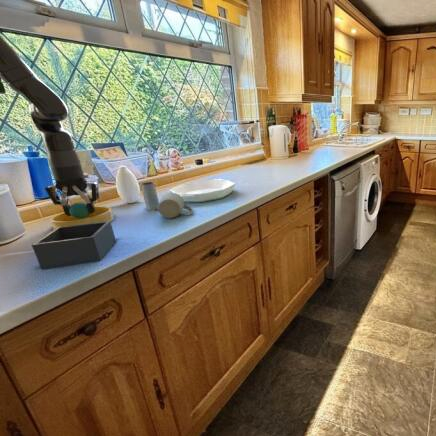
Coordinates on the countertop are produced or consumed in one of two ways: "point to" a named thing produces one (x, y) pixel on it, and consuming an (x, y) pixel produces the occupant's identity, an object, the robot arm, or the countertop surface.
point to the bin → (74, 245)
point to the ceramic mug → (173, 206)
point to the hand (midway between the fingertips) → (81, 214)
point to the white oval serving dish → (204, 190)
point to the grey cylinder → (150, 195)
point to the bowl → (98, 216)
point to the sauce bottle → (127, 185)
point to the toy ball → (79, 210)
